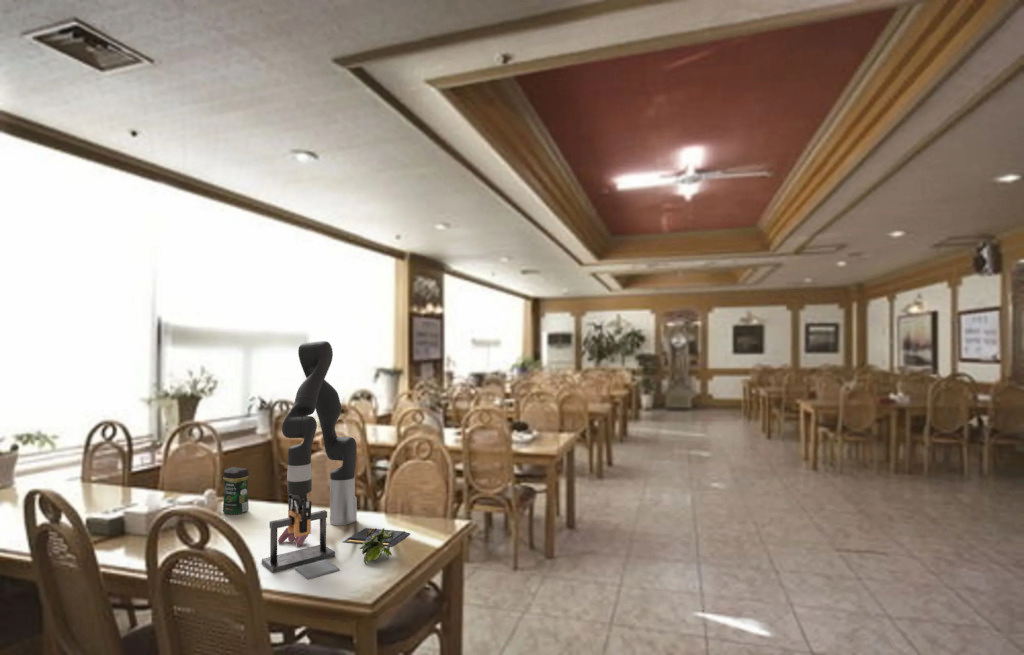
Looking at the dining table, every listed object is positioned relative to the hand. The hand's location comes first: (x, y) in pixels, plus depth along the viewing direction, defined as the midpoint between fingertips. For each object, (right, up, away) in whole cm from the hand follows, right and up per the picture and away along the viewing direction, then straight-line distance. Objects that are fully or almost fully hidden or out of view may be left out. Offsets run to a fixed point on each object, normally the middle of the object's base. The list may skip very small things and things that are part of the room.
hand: (299, 529), depth 184 cm
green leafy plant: (+25, -10, +1) cm, 27 cm away
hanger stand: (0, -10, 0) cm, 10 cm away
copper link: (0, -1, 0) cm, 1 cm away
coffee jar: (-47, -12, +53) cm, 72 cm away
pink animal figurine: (-8, -11, +16) cm, 20 cm away
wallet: (+20, -11, +20) cm, 31 cm away
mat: (+9, -9, -9) cm, 16 cm away
